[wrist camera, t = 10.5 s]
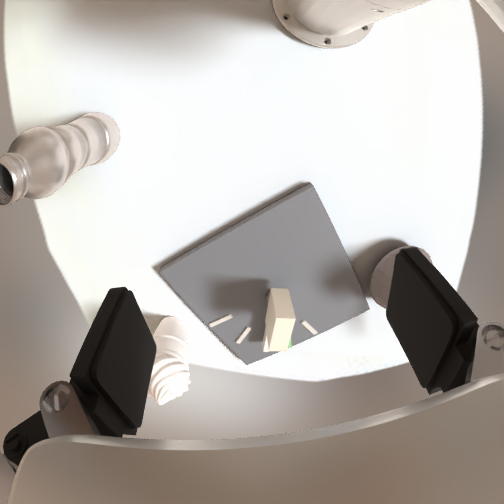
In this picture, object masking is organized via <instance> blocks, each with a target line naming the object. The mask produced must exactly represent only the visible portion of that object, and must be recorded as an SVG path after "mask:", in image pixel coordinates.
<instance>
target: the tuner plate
mask: <svg viewBox="0 0 504 504" xmlns="http://www.w3.org/2000/svg"><path fill="white" fill-rule="evenodd" d="M159 273H160V274H161V276H162V277H163V278H164V279H165V280H166V281H167V282H168V283H169V285H170V286H171V287H172V288H173V289H174V290H175V291H176V292H177V294H178V295H179V296H180V297H181V298H182V299H183V300H184V301H185V302H186V303H187V305H188V306H189V307H190V308H191V309H192V310H193V311H194V312H195V313H196V314H197V315H198V316H199V317H200V318H201V319H202V321H203V322H204V323H205V324H206V325H207V326H208V327H209V328H210V329H211V330H212V331H213V332H214V333H215V334H216V335H217V336H218V337H219V338H220V339H221V340H222V341H223V342H224V343H225V344H226V345H227V346H228V347H229V348H230V349H231V350H232V351H233V352H234V353H235V354H236V355H237V356H238V357H239V358H240V359H241V360H242V361H243V362H244V363H245V364H246V365H248V364H250V363H253V362H255V361H258V360H260V359H263V358H265V357H268V356H270V355H273V354H275V353H278V352H280V351H269V352H263V345H262V342H263V337H264V332H265V327H266V325H265V318H266V312H267V307H268V304H267V297H266V295H267V293H268V292H269V291H270V290H271V288H282V289H289V293H290V297H291V301H292V305H293V309H294V314H295V318H296V320H295V323H294V327H293V330H292V334H291V338H290V341H289V345H288V348H289V347H292V346H294V345H296V344H298V343H301V342H303V341H305V340H307V339H310V338H312V337H314V336H316V335H318V334H320V333H323V332H325V331H327V330H329V329H331V328H333V327H335V326H337V325H339V324H341V323H343V322H345V321H347V320H349V319H351V318H353V317H355V316H357V315H359V314H361V313H363V312H365V311H367V310H369V309H370V308H369V306H368V303H367V301H366V298H365V296H364V293H363V291H362V289H361V286H360V284H359V282H358V279H357V277H356V275H355V272H354V270H353V268H352V265H351V263H350V261H349V259H348V256H347V254H346V252H345V250H344V248H343V245H342V243H341V241H340V239H339V237H338V235H337V233H336V231H335V228H334V226H333V224H332V222H331V220H330V218H329V216H328V214H327V212H326V210H325V208H324V206H323V204H322V202H321V200H320V198H319V196H318V194H317V192H316V190H315V188H314V186H313V185H312V184H311V183H309V184H307V185H305V186H303V187H302V188H300V189H298V190H296V191H294V192H292V193H291V194H289V195H287V196H285V197H283V198H281V199H280V200H278V201H276V202H274V203H272V204H270V205H269V206H267V207H265V208H263V209H261V210H260V211H258V212H256V213H254V214H252V215H251V216H249V217H247V218H245V219H243V220H242V221H240V222H238V223H236V224H235V225H233V226H231V227H229V228H228V229H226V230H224V231H222V232H220V233H219V234H217V235H215V236H214V237H212V238H210V239H208V240H207V241H205V242H203V243H201V244H200V245H198V246H196V247H194V248H193V249H191V250H189V251H188V252H186V253H184V254H182V255H181V256H179V257H177V258H176V259H174V260H172V261H171V262H169V263H167V264H166V265H164V266H162V267H161V269H160V272H159Z"/></svg>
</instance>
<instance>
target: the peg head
mask: <svg viewBox="0 0 504 504" xmlns="http://www.w3.org/2000/svg"><path fill="white" fill-rule="evenodd" d="M266 297H267V304H268V307H267V312H266V318H265V325H266V327H265V332H264V337H263V342H262V345H263V352H269V351H287V348H288V345H289V341H290V338H291V334H292V330H293V327H294V323H295V320H296V318H295V314H294V309H293V305H292V301H291V297H290V293H289V289H282V288H271V290H270V291H269V292H268V293H267V295H266Z"/></svg>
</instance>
